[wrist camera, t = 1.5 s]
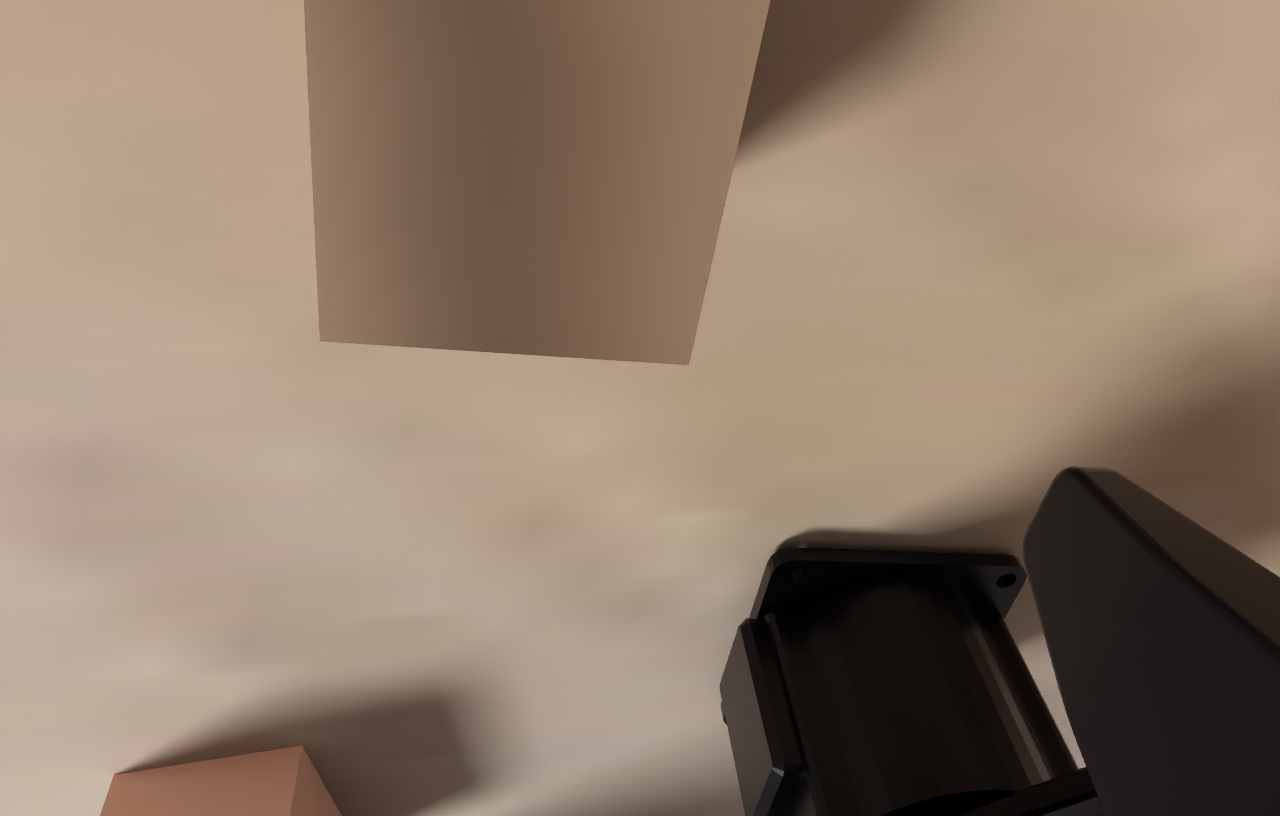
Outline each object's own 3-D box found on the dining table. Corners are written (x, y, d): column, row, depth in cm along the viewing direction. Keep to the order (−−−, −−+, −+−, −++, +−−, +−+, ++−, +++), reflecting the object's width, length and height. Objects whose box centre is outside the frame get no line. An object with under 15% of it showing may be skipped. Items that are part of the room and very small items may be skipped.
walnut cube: (701, -100, 15) (770, -2, 11) (648, 202, 18) (688, 364, 14) (357, -152, 14) (301, -64, 10) (361, 175, 17) (320, 341, 13)
